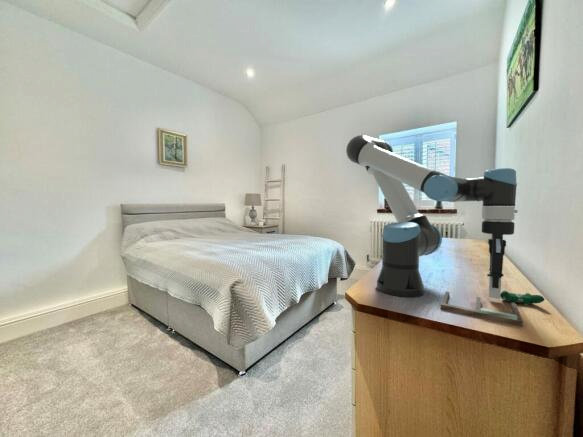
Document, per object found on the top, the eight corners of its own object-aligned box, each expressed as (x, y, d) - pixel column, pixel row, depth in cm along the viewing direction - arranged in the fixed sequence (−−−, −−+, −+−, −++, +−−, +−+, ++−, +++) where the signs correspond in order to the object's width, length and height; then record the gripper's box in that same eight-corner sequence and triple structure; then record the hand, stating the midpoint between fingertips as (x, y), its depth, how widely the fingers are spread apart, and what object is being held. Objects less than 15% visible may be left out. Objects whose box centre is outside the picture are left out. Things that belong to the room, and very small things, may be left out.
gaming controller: (545, 310, 68) (535, 303, 74) (545, 297, 68) (535, 290, 74) (503, 304, 72) (496, 298, 78) (503, 292, 72) (497, 286, 78)
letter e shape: (440, 309, 69) (440, 301, 69) (445, 295, 80) (445, 288, 80) (522, 327, 59) (522, 318, 59) (515, 309, 70) (516, 301, 69)
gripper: (517, 222, 66) (513, 307, 68) (511, 220, 77) (508, 293, 78) (482, 221, 71) (479, 301, 72) (481, 219, 81) (478, 289, 82)
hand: (494, 297), depth 75 cm, fingers closed
